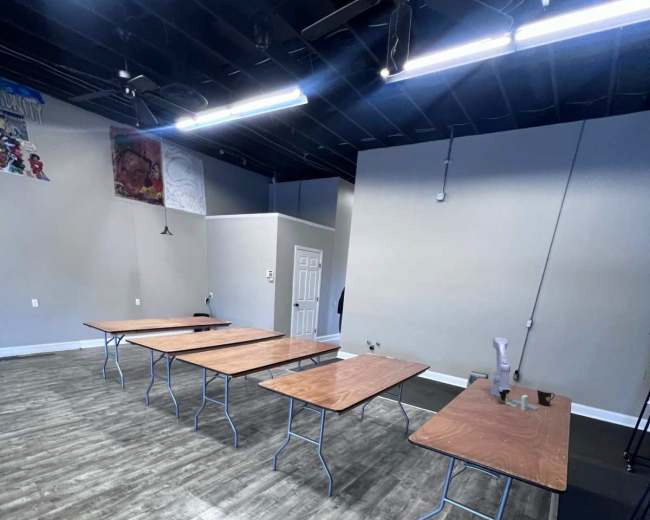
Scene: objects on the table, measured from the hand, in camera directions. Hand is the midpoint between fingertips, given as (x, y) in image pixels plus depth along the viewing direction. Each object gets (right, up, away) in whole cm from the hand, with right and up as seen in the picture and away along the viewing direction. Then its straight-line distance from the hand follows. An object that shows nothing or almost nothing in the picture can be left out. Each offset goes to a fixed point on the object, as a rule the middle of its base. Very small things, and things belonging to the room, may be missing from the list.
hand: (503, 400), depth 215 cm
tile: (+8, -2, -10) cm, 13 cm away
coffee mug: (+32, -4, +1) cm, 32 cm away
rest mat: (+14, -3, -2) cm, 14 cm away
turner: (+2, -2, -3) cm, 4 cm away
